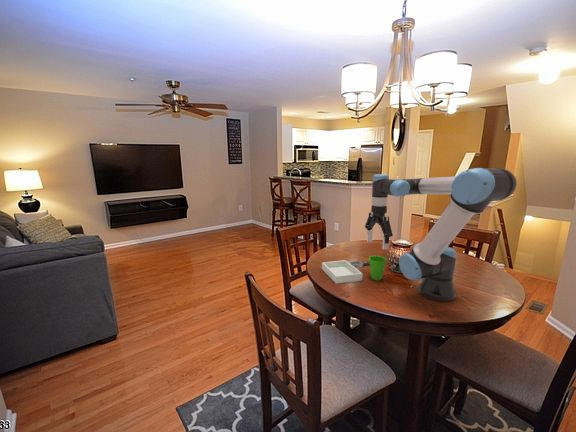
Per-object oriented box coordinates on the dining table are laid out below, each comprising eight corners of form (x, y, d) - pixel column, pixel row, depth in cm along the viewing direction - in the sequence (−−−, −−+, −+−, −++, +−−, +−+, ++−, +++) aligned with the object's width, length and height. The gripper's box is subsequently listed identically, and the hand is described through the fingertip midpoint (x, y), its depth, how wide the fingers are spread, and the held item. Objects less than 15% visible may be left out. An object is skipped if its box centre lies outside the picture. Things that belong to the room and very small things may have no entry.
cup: (381, 283, 143) (383, 263, 140) (364, 279, 148) (365, 259, 146) (387, 277, 150) (389, 258, 147) (371, 273, 155) (372, 254, 153)
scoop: (368, 263, 170) (369, 259, 170) (373, 266, 165) (373, 262, 165) (349, 265, 167) (350, 261, 167) (353, 268, 162) (354, 264, 162)
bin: (362, 280, 146) (362, 273, 145) (335, 284, 142) (336, 276, 142) (345, 266, 165) (345, 260, 164) (321, 269, 161) (321, 262, 160)
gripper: (402, 208, 133) (399, 251, 137) (371, 201, 156) (369, 238, 160) (388, 209, 131) (385, 253, 135) (359, 202, 154) (357, 239, 158)
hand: (377, 245), depth 148 cm, fingers open, 13 cm apart
